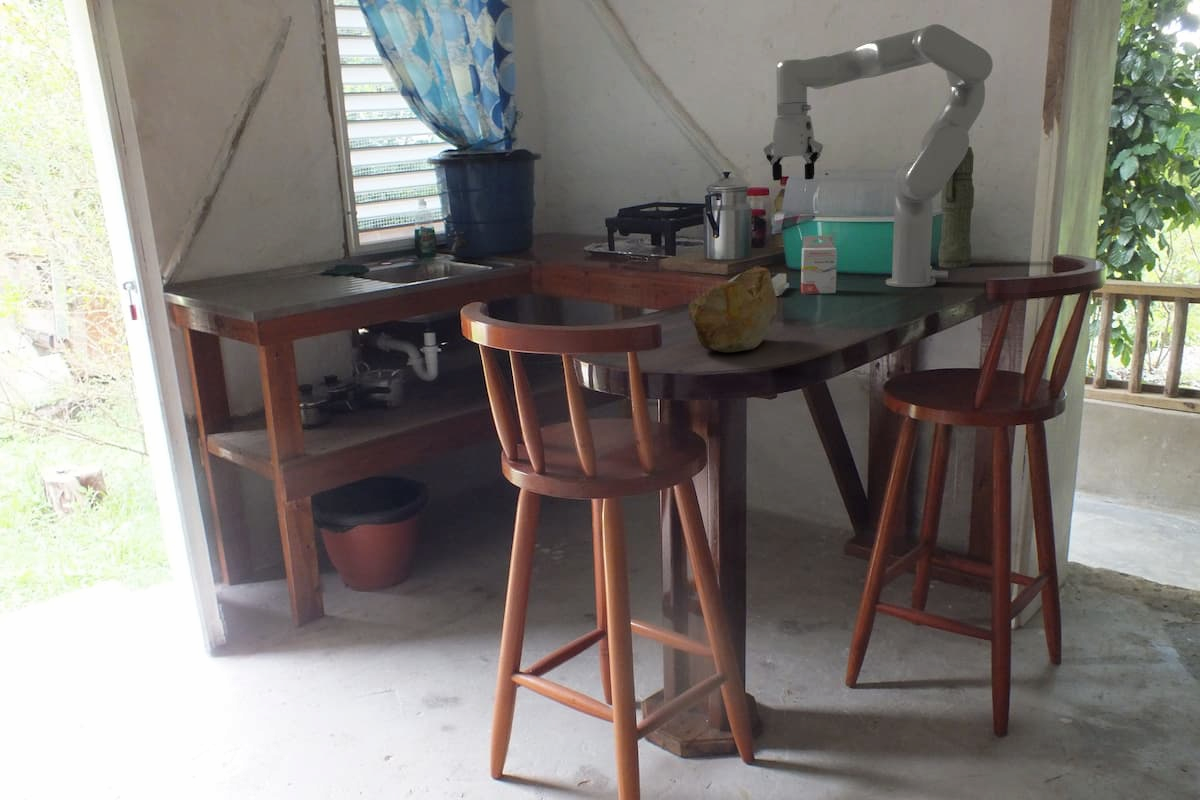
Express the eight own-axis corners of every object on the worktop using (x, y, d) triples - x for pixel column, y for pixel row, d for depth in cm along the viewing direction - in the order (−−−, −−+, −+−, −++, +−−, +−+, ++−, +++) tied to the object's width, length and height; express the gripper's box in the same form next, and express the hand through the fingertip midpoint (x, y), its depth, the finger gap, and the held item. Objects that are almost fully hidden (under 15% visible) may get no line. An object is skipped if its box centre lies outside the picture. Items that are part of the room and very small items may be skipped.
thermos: (932, 270, 282) (937, 146, 273) (944, 265, 291) (950, 145, 282) (963, 271, 277) (970, 145, 268) (974, 266, 286) (981, 144, 277)
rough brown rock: (713, 332, 207) (712, 262, 203) (787, 337, 198) (787, 264, 194) (662, 353, 188) (660, 277, 184) (741, 360, 179) (741, 280, 175)
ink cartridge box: (802, 295, 249) (803, 237, 245) (800, 292, 254) (801, 235, 250) (836, 294, 248) (837, 236, 244) (833, 291, 253) (834, 234, 249)
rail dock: (788, 288, 261) (789, 273, 260) (778, 297, 247) (778, 281, 246) (738, 287, 266) (737, 273, 265) (725, 296, 252) (724, 281, 251)
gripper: (829, 108, 243) (830, 177, 247) (772, 113, 254) (773, 179, 259) (813, 108, 237) (814, 179, 242) (755, 114, 249) (757, 181, 254)
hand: (793, 179), depth 250 cm, fingers open, 9 cm apart
